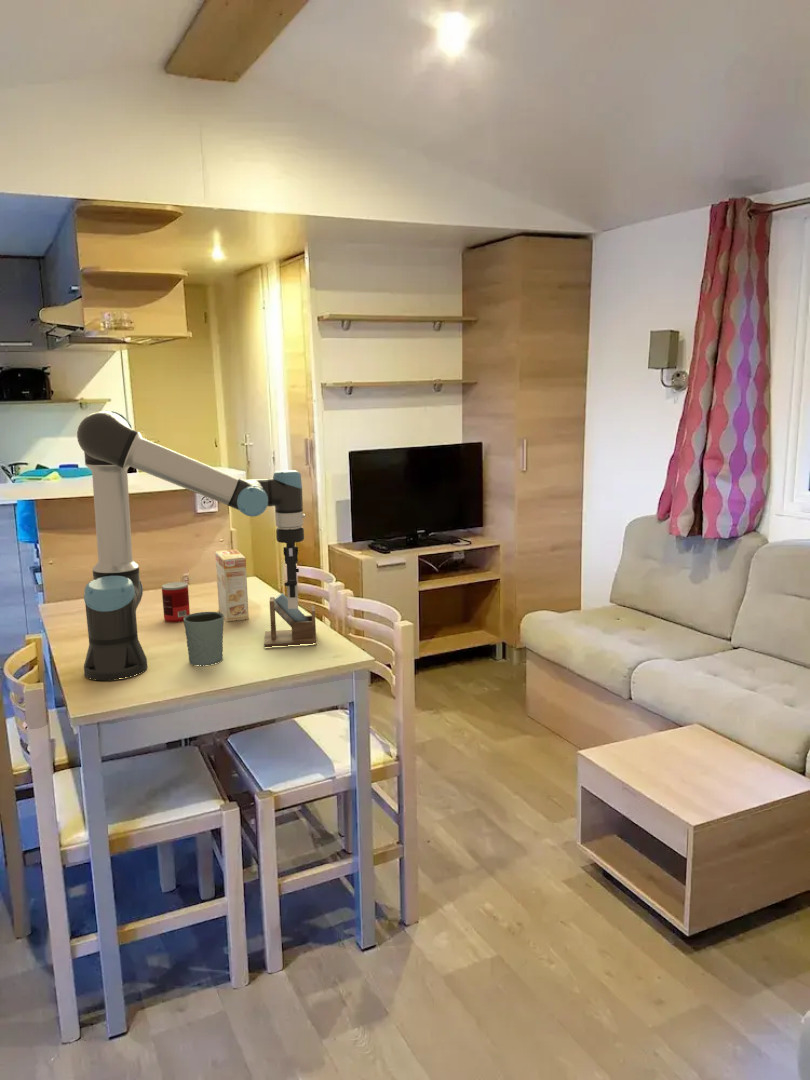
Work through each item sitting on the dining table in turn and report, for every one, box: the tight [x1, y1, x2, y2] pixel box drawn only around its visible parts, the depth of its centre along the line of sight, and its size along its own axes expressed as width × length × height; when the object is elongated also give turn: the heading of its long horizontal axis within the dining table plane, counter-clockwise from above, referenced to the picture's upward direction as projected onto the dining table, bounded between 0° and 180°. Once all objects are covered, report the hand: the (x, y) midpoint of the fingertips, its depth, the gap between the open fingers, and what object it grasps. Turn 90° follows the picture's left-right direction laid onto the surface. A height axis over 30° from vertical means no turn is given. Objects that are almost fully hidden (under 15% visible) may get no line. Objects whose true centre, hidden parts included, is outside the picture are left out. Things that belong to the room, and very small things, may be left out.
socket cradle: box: [263, 596, 317, 648], centre depth 227 cm, size 12×14×12 cm
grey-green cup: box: [183, 611, 225, 667], centre depth 211 cm, size 10×10×12 cm
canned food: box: [161, 581, 191, 624], centre depth 250 cm, size 8×8×11 cm
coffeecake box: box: [214, 548, 250, 622], centre depth 253 cm, size 15×7×20 cm, turn 22°
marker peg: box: [274, 592, 309, 622], centre depth 227 cm, size 3×3×12 cm
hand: (293, 601), depth 226 cm, fingers open, 13 cm apart
